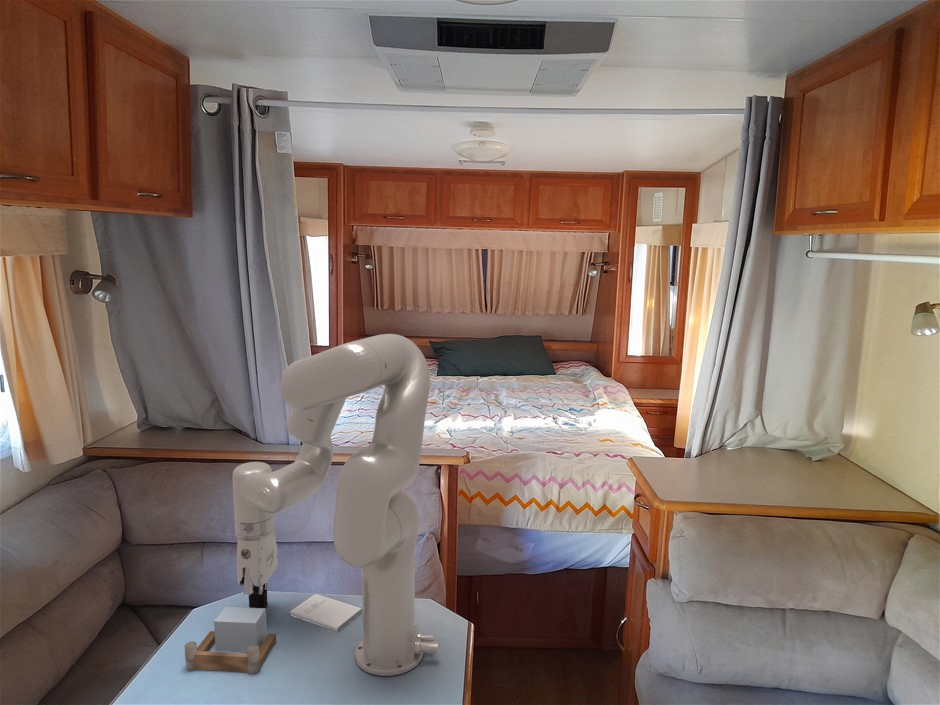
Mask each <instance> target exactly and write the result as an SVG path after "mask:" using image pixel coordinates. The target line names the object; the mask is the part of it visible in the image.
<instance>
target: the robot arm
mask: <svg viewBox="0 0 940 705" xmlns="http://www.w3.org/2000/svg"><path fill="white" fill-rule="evenodd" d="M382 386H384V390H383V394H382V396H381V398H380V400H379V403H378V406H377V409H376V413H375V424H374V430H373V436H372V439H371V442H370V443H369V444H368V445H367V446H365V447H363V448H362V449H360V450H358V451H356V452H355V453H353V454H352V455H351V456H349V457H348V459H347V460H346V461H345V462H344V465H343V466H342V468H341V471H340V472H339V476H338V481H337V482H338V483H337V491H336V500H335V507H334V508H335V509H334V518H333V531H332V532H333V534H332V535H333V544H334V548H335V551H336V553H337V554H338V557H339V558H340V559H341V560H342V561H343V562H344V563H345V564H346V565H347V566H349V567H353V568H357V569H361V588H362V589H361V592H362V594H361V596H362V598H361V599H362V600H361V601H362V609H363V612H362V638H363V639H361V641H360V642H359V643H358V644H357V646H356V648H355V651H354V653H355V655H354V656H355V658H354V659H355V662H356V665H357V666H358V667H359V668H360V669H361V670H362V671H364V672H366V673H368V674H371V675H375V676H379V677H380V676H381V677H388V676H389V677H392V676H397V675H401V674H404V673H408V672H409V671H411V670H412V669H414V668H415V667H417V666H418V665H419V663H420V662H421V661H422V660H423V657H424V653H427V654H429V653H430V654H438V653H439V646H440V645H439V641H434V638H435V637H434V636H435V635H434V634H427V635H426V634H422V633H419V625H416V618H415V617H416V613H415V612H416V610H415V609H416V608H415V607H416V606H415V603H416V602H415V601H416V599H415V596H416V594H415V593H416V592H415V577H416V574H415V573H416V571H415V568H416V566H415V565H416V564H415V561H416V548H417V541H418V540H417V539H418V533H419V526H420V525H419V524H420V517H419V516H420V514H419V509H418V507H417V504H416V502H415V500H414V498H412V496H410V495H409V494H408V493H407V492H405V491H404V490H405V489H406V488H408V487H409V486H411V484H412V483H413V482H414V481H415V480H416V479H417V476H418V475H419V474H418V473H419V468H420V462H421V453H422V446H423V439H424V438H423V437H424V431H425V422H426V414H427V408H428V402H429V396H430V388H431V377H430V369H429V365H428V362H427V359H426V357H425V356H424V354H423V352H422V350H420V348H419V347H418V346H417V344H416V343H414V342H413V341H412V340H411V339H409V338H407V337H405V336H403V335H400V334H395V333H384V334H383V333H382V334H377V335H373V336H369V337H365V338H361V339H357V340H353V341H349V342H346V343H343V344H340V345H337V346H335V347H331V348H329V349H326V350H324V351H321V352H319V353H318V352H317V353H316V354H314V355H310V356H308V357H305V358H302V359H299V360H295V361H293V362H291V364H289V365H288V366H287V367H286V368H285V369H284V371H283V373H282V376H281V378H280V385H279V387H280V394H281V397H282V399H283V400H284V402H285V403H286V404H287V405H288V406H289V407H291V409H290V412H289V414H288V416H287V418H286V422H285V424H286V425H285V426H286V430H287V432H288V433H289V435H291V436H292V437H293V438H294V439H295V440H297V441H299V442H300V443H302V445H301V448H300V450H299V453H298V454H297V457H296V458H295V461H294V462H292V463H290V464H287V465H286V466H283V467H282V468H279V469H277V470H274V471H273V469H272V467H271V466H270V465H269V464H268V463H267V462H263V461H250V462H244V463H241V464H238V465H237V466H236V467H235V468H234V469H233V471H232V477H231V478H232V479H231V480H232V495H233V513H234V514H233V515H234V517H233V518H234V535H235V536H236V538H237V543H236V545H237V548H236V576H237V583H238V585H239V586H240V587H241V586H243V595H246V596H247V595H248V605H249V606H248V608H266V609H267V608H268V607H269V606H268V604H269V603H268V589H267V588H268V582H269V581H268V580H269V579H270V577H271V576H272V575H273V574H274V572H275V571H276V570H277V567H278V564H279V560H278V548H277V547H278V546H277V536H276V531H275V530H276V529H275V515H276V514H279V513H280V514H281V513H282V512H283V513H284V512H285V511H286V510H287V511H288V509H290V508H292V507H294V506H295V505H298V504H299V503H300V502H302V501H304V500H306V499H307V498H310V497H312V496H313V495H314V494H315V493H317V491H318V490H320V488H321V486H322V484H323V483H324V481H325V479H326V477H327V475H328V472H329V471H330V468H331V466H332V463H333V458H334V449H333V448H334V447H333V446H334V445H333V440H332V437H331V436H332V434H333V430H334V428H335V426H336V423H337V421H338V419H339V417H340V414H341V413H342V410H343V408H344V405H345V403H346V401H347V399H348V398H350V397H354V396H357V395H360V394H362V393H366V392H369V391H371V390H374V389H376V388H379V387H382Z"/></svg>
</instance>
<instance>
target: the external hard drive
mask: <svg viewBox="0 0 940 705" xmlns="http://www.w3.org/2000/svg"><path fill="white" fill-rule="evenodd" d="M361 614H363V607H359V606H355V605H353V604H350V603H346V602H343V601H340V600H337V599H334V598H329V597H327V596H325V595H321V594H317V593H315V594H313V595H311V596H310V597H308V598H307V599H306V600H305V601H303V602H301V603H300V604H298V605H297V606H296V607H294V608H293V609H291V610H290V611H289V616H290V615H293V616H296V617H299V618H301V619H305V620H308V621H310V622H313V623H316V624H319V625H321V626H324V627H326V628H325V629H327V628H329V629H328V630H330V629H331V630H330V631H332V630H334V631H333V632H335V631H336V633H339V632H340V631H341V630H342V629H344V628H345V627H347V625H349V624H350V623H351V622H352V621H354V620H355V619H356V618H357V617H358V615H359V616H360V615H361ZM354 618H355V619H354ZM301 619H300V620H301ZM353 619H354V620H353ZM349 622H350V623H349ZM348 623H349V624H348ZM321 626H320V627H321ZM324 627H323V628H324ZM343 627H344V628H343ZM338 631H339V632H338Z"/></svg>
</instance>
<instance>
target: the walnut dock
mask: <svg viewBox="0 0 940 705" xmlns="http://www.w3.org/2000/svg"><path fill="white" fill-rule="evenodd" d="M276 643H277V633H267V637H266V638H265V640H264V642H263V643H262V645H261V646H260V648H259V646H258V645H251V646H249V647H248V648H247V652H246V653H245V652H244V653H242V652H241V653H240V652H226V651H225V652H224V651H223V652H222V651H210V650H211V649H212V648H213V646H214V645H215V631H214V630H210V631H209V632H208V633H207V635H206V636H205V637H204V638H203V640H201V642H200V644H199V645H197V642H196V641H188V642H186V643H185V644H184V645H183V646H184V658H185V670H186V671H188V672H193V671H211V672H213V671H214V672H215V671H216V672H233V673H235V672H236V673H248V674H249V675H251V674H254V675H257V674H258V672H260V671H261V668H260V667H262V666H263V664H264V663H265V661H266V659H267V658H268V656H269V654H270V653H271V651H272V649H273V648H274V646H275V644H276ZM263 662H264V663H263Z"/></svg>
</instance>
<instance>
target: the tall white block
mask: <svg viewBox="0 0 940 705" xmlns="http://www.w3.org/2000/svg"><path fill="white" fill-rule="evenodd" d="M267 624H268V623H267V608H249V607H241V606H240V607H239V606H238V607H236V606H225V607H223V609H222V610H221V612H219V615H218V616H217V617H216V618H215V619H214V620H213V628H214V630H213V631H215V644H214V645H215V646H214V647H215V651H223V652H224V651H225V652H229V651H230V652H244V653H247V648H248V647H249V646H251V645H258V646H259V648H260V646H261V645H262V643H263V642H264V640H265V638H266V637H267V635H268V629H267V628H268V627H267Z"/></svg>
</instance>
